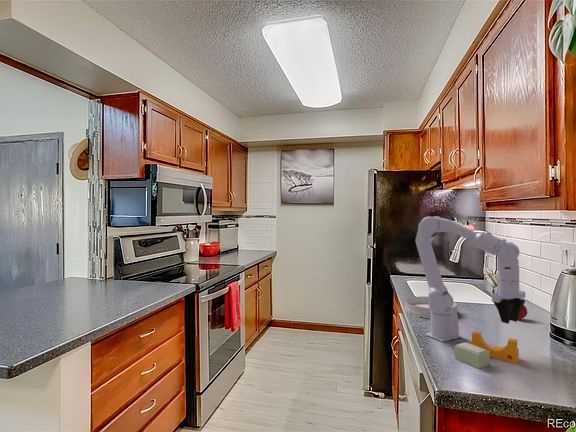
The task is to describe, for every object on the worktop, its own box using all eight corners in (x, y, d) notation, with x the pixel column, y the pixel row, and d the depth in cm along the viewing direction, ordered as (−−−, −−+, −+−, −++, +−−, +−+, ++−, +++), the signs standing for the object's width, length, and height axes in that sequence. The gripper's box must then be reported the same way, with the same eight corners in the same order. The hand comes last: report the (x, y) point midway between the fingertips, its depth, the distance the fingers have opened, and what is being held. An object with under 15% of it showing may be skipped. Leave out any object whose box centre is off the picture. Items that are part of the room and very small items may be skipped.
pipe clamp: (518, 359, 107) (518, 338, 107) (515, 363, 104) (515, 342, 103) (476, 349, 115) (475, 329, 115) (472, 352, 112) (471, 332, 112)
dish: (416, 321, 146) (416, 309, 146) (397, 307, 168) (397, 296, 168) (467, 319, 147) (467, 308, 147) (442, 306, 169) (442, 295, 169)
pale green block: (465, 355, 110) (465, 341, 110) (489, 365, 102) (489, 350, 102) (454, 358, 107) (454, 344, 107) (478, 368, 100) (478, 353, 100)
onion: (530, 322, 141) (530, 302, 141) (514, 321, 143) (514, 302, 143) (523, 318, 147) (523, 299, 147) (508, 317, 148) (508, 298, 148)
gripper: (507, 284, 106) (507, 328, 106) (535, 280, 112) (535, 321, 112) (485, 280, 112) (485, 322, 112) (512, 276, 119) (513, 316, 119)
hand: (509, 321), depth 113 cm, fingers open, 4 cm apart
